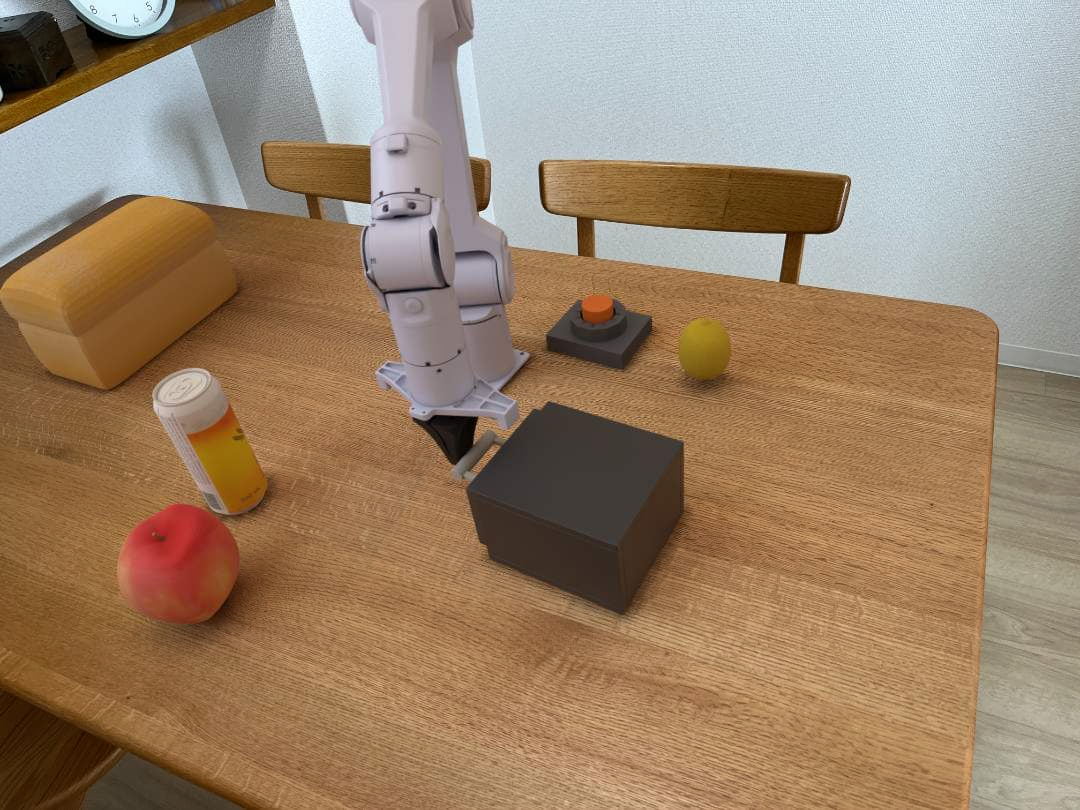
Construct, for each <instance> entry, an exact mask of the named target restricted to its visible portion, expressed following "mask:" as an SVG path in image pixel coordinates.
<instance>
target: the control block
mask: <svg viewBox="0 0 1080 810" xmlns="http://www.w3.org/2000/svg"><path fill="white" fill-rule="evenodd" d="M611 299H612V302H613V317H612V319H611V320H609V321H606V322H604V323H595V324H593V323H589V322H586V321H585V320H584V319H583V315H582V305H581V304H582V301H583V300H584V299H579V298H578V299H577V300H576V301H575V303H573V304H572V306H571V307H569V309H568V310H567V311H566V312H565V313H564V314H563V315H562V316H561V317H560V319H558V321H556V323H555V324H554V325H553V326H552V327H551V329H549V331H548V332H546V334H545V339H546V347H547V350H548V351H552V352H556V353H559V354H564V355H566V356H571V357H574V358H578V359H582V360H586V361H589V362H592V363H597V364H600V365H604V366H607V367H612V368H616V369H619V370H624V369H625V367H626V366H627V365H628V364H629V362H630V360H632V358H633V357H634V356H635V354H636V353H637V352H638V351H639V349H640V348H641V347H642V345H643V344H644V343H645V342H646V341H647V339H648V337H650V335H651V334H652V333H653V316H652V315H648V314H643V313H639V312H636V311H632V310H626V305H624V303H622V302H620V301H619V300H618V299H615V298H611Z"/></svg>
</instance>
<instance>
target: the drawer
mask: <svg viewBox="0 0 1080 810" xmlns="http://www.w3.org/2000/svg"><path fill="white" fill-rule="evenodd" d="M540 410H541V409H538V408H535V407H533V408H532V410H531V411H530V412H529V414H527V416H526V417H525V418H524V419H523V420H522V422H521V423H520V424H519V425H518V426H517V428H515V430H514V431H513V432H512V434H511V435H510V436H509V437H508V438H507V439H505V438H503V437H499V436H498V434H497V433H496V432H495V431H494V430H491V429H486V430H485V432H484V433H483V434H481V436H480V437H479V438H478V439H477V441H476V442H475V443H473V446H472V447H471V449H470V450H469V451H468V452H467V453H466V454H465V455H464V456H463V458H462V459H461V460H460V461H459V462H458V463H457V464H456V465H454V467H453V468H452V469H451V470H450V471H449V474H450V476H451V478H452V479H453V480H454V481H456V482H459V483H460V482H463V481H464V480H465V481H468V482H470V483H469V484H468V485H467V486H466V487H465V492H466V497H467V501H468V504H469V507H470V512H471V515H472V519H473V522H474V527H475V530H476V535H477V538H478V542H479V544H481V545H484V546H486V542H485V538H484V534H483V530H482V526H481V522H480V518H479V515H478V511H477V507H476V503H475V499H474V495H473V490H474V489H475V488H476V486H477V485H478V484H479V483H480V482H481V480H482V479H483V478H484V477H485V476H486V474H487V473H488V472H489V471H490V470H491V468H492V467H493V466H494V465H495V464H496V463H497V461H498V460H499V459H500V458H501V457H502V455H503V454H504V453H505V452H506V451H507V449H508V448H509V447H510V446H511V445H512V444H513V442H514V441H515V440H516V439H517V438H518V436H519V435H520V434H521V433H522V432H523V430H524V429H525V428H526V427H527V426H528V425H529V423H530V422H531V421H532V420H533V419H534V417H535V416H536V415H537V414H538V413H539V411H540ZM494 445H495V446H496V447H500V448H498V450H497V451H496V453H494V454H493V455H492V457H491V458H490V460H488V462H487V463H486V464H485V465H484V466H483V468H481V470H480V471H479V472H478V473H473V472H471V471H472V470H473V469H474V468H475V467H476V466H477V464H478V463H479V462H480V461H481V460H482V459H483V458H484V456H485V455H486V454H487V453H488V452H489V451H490V449H491V448H492V447H493V446H494Z"/></svg>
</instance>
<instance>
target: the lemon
mask: <svg viewBox="0 0 1080 810" xmlns="http://www.w3.org/2000/svg"><path fill="white" fill-rule="evenodd" d="M677 350H678V353H677V354H678V355H677V356H678V361H679V364H680V365H681V368H682V370H683V371H684V372H685V373H686V374H687V375H688V376H690V377H691V378H693V379H695V380H699V381H710V380H713V379H715V378H718V377H720V376H721V375H722V373H724V371H726V369H727V367H728V365H729V363H730V361H731V354H732V343H731V340H730V336H729V333H728V331H727V329H726V328H725V326H724V325H723V324H722V323H720V322H719V321H718V320H715V319H714V318H709V317H702V318H697V319H695V320H693V321H691V322H690V323H688V324H687V325H686V326H685V328H684V329H683V330H682V333H681V335H680V337H679V341H678V349H677Z"/></svg>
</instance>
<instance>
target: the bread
mask: <svg viewBox="0 0 1080 810" xmlns="http://www.w3.org/2000/svg"><path fill="white" fill-rule="evenodd" d="M217 238H218V234H217V228H216V225H215V224H214V221H213V220H212V219H211V217H210V215H208V214H207V213H206V212H205V211H203V210H202V209H201V208H199V207H197V206H195V205H193V204H189V203H187V202H183V201H180V200H176V199H173V198H170V197H165V196H158V195H154V196H153V195H152V196H144V197H141V198H136V199H135V200H132V201H130V202H128V203H127V204H125V205H123V206H122V207H119V208H118V209H116V210H115V211H113V212H111V213H109V214H108V215H106V216H105V217H103V218H101V219H100V220H98V221H96V222H95V223H93V224H92V225H89V226H88V227H86V228H85V229H83V230H81V231H80V232H78V233H76V234H74V235H73V236H71V237H70V238H68V239H67V240H65V241H63V242H61V243H60V244H58V245H56V246H55V247H53V248H51V249H50V250H48V251H47V252H45V253H43V254H42V255H39V256H38V257H37V258H34V259H33V260H32V261H30V262H29V263H27V264H25V265H24V266H22V267H21V268H20V269H18V270H17V271H15V272H14V273H12V274H11V275H10V276H9V277H8V278H7V279H6V280H5V281H4V283H3V284H2V286H1V288H0V302H1V305H2V306H3V308H4V309H5V311H6V313H7V314H8V315H9V316H10V317H11V318H12V319H14V320H15V321H16V322H17V325H18V328H19V330H20V332H21V334H22V336H23V338H24V339H25V341H26V343H27V344H28V346H29V347H30V349H31V351H32V352H33V354H34V355H35V356H36V358H37V359H38V360H39V362H40V363H41V364H42V365H43V366H44V367H45V368H46V369H47V370H48V371H49V373H50V374H53V375H54V376H58V377H61V378H64V379H66V380H67V379H68V380H70V381H74V382H77V383H80V384H83V385H87V386H90V387H94V388H96V389H99V390H100V389H101V390H104V391H108V390H111V389H114V388H115V387H117V386H119V385H121V384H122V383H123V382H124V381H126V380H127V379H129V378H130V377H131V376H133V375H134V374H136V373H137V372H138V371H139V370H140V369H142V368H143V367H144V366H146V365H147V363H149V362H151V361H152V360H153V359H154V358H156V357H157V356H158V355H160V353H162V352H163V351H165V350H166V349H167V348H168V347H170V346H171V345H172V344H173V343H175V342H176V341H177V340H179V339H180V338H181V337H183V335H185V334H186V333H187V332H189V331H190V330H192V329H193V328H194V327H195V326H196V325H198V324H199V323H200V322H201V321H203V320H204V319H205V318H207V317H208V316H209V315H210V314H212V313H213V312H214V311H216V310H217V309H218V308H219V307H220V306H222V305H223V304H224V303H226V302H227V301H228V300H229V299H231V298H232V297H233V296H234V295H235V294H237V292H238V282H237V278H236V274H235V272H234V269H233V266H232V264H231V262H230V260H229V258H228V254H226V251H225V249H224V247H223V245H222V244H221V242H219V240H218V239H217Z"/></svg>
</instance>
